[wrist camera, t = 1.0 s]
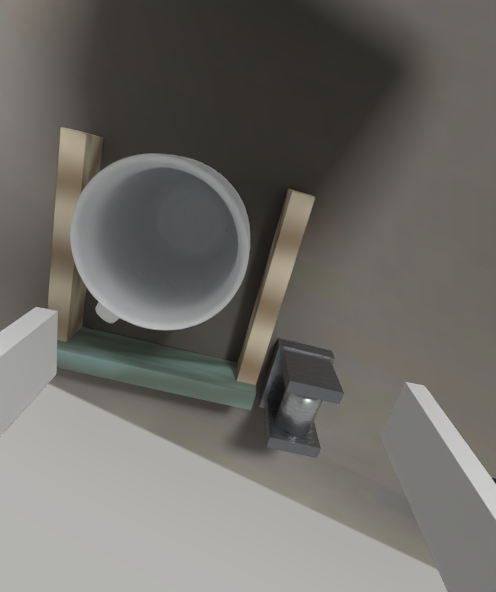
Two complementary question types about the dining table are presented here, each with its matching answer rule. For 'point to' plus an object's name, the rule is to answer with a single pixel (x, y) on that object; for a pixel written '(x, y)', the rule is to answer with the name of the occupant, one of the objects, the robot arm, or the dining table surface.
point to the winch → (297, 396)
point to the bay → (145, 355)
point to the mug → (160, 241)
